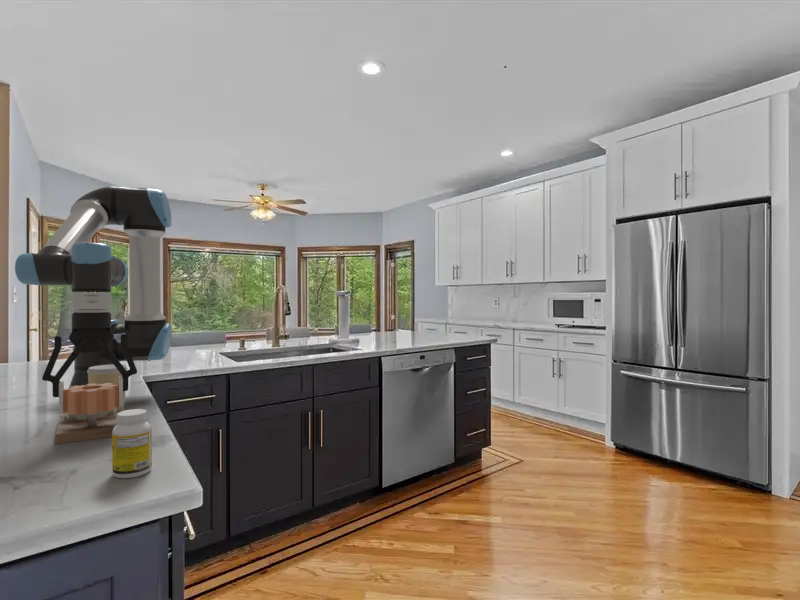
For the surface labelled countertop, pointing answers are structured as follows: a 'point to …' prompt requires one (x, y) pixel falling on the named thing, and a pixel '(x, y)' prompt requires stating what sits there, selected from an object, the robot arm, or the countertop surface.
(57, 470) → the countertop surface
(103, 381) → the coffee cup
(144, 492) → the countertop surface
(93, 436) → the gear board
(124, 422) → the pill bottle
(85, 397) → the rust gear
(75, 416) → the gear
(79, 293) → the robot arm
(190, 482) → the countertop surface
